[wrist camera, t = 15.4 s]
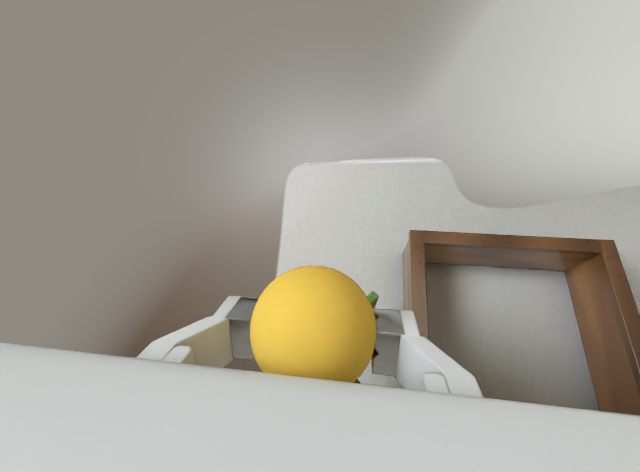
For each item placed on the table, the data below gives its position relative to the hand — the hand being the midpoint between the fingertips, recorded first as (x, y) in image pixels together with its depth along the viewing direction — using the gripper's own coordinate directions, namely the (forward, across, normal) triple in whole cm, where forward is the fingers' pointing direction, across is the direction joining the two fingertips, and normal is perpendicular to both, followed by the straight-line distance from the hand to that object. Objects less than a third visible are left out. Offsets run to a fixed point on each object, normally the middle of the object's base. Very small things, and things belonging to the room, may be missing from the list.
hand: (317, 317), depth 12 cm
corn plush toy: (+3, 0, +4) cm, 5 cm away
